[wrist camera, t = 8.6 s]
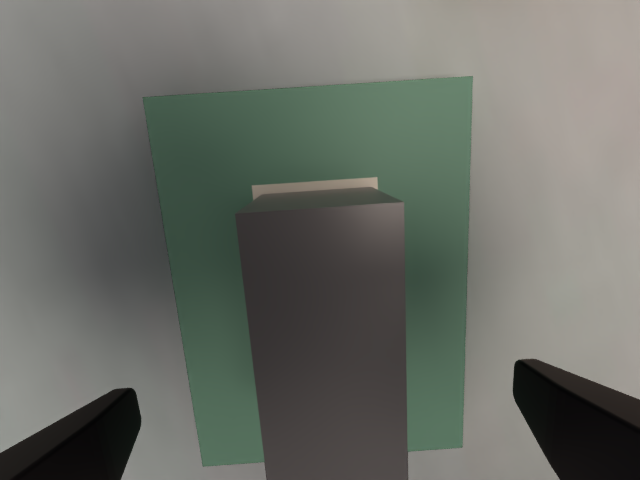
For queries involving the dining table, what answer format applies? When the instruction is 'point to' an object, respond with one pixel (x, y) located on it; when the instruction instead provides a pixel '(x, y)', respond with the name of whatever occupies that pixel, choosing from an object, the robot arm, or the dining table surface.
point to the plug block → (328, 332)
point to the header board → (310, 175)
